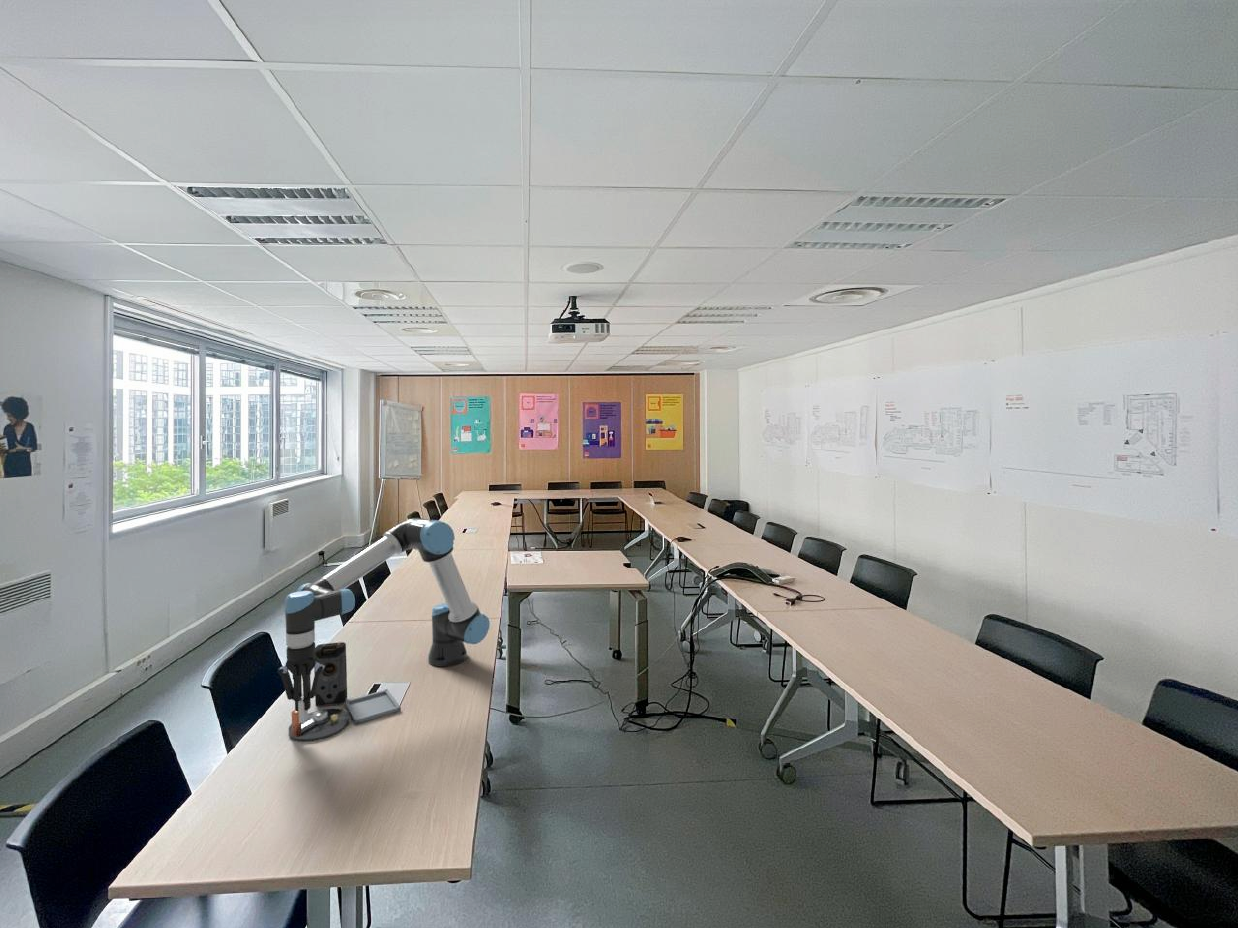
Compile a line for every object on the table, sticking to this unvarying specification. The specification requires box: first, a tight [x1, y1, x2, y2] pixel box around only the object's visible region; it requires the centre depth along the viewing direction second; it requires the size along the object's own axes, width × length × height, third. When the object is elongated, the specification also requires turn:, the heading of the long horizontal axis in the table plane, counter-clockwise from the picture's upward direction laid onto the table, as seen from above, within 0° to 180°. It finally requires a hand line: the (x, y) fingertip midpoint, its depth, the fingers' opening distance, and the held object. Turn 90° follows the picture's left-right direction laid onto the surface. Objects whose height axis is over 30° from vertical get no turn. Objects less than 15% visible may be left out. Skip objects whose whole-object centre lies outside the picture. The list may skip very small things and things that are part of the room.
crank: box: [291, 709, 328, 736], centre depth 168 cm, size 11×4×7 cm, turn 159°
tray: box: [343, 688, 402, 726], centre depth 183 cm, size 14×16×2 cm
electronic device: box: [313, 641, 348, 708], centre depth 187 cm, size 9×6×20 cm, turn 105°
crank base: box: [288, 708, 351, 743], centre depth 172 cm, size 17×17×4 cm
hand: (303, 720), depth 165 cm, fingers closed
